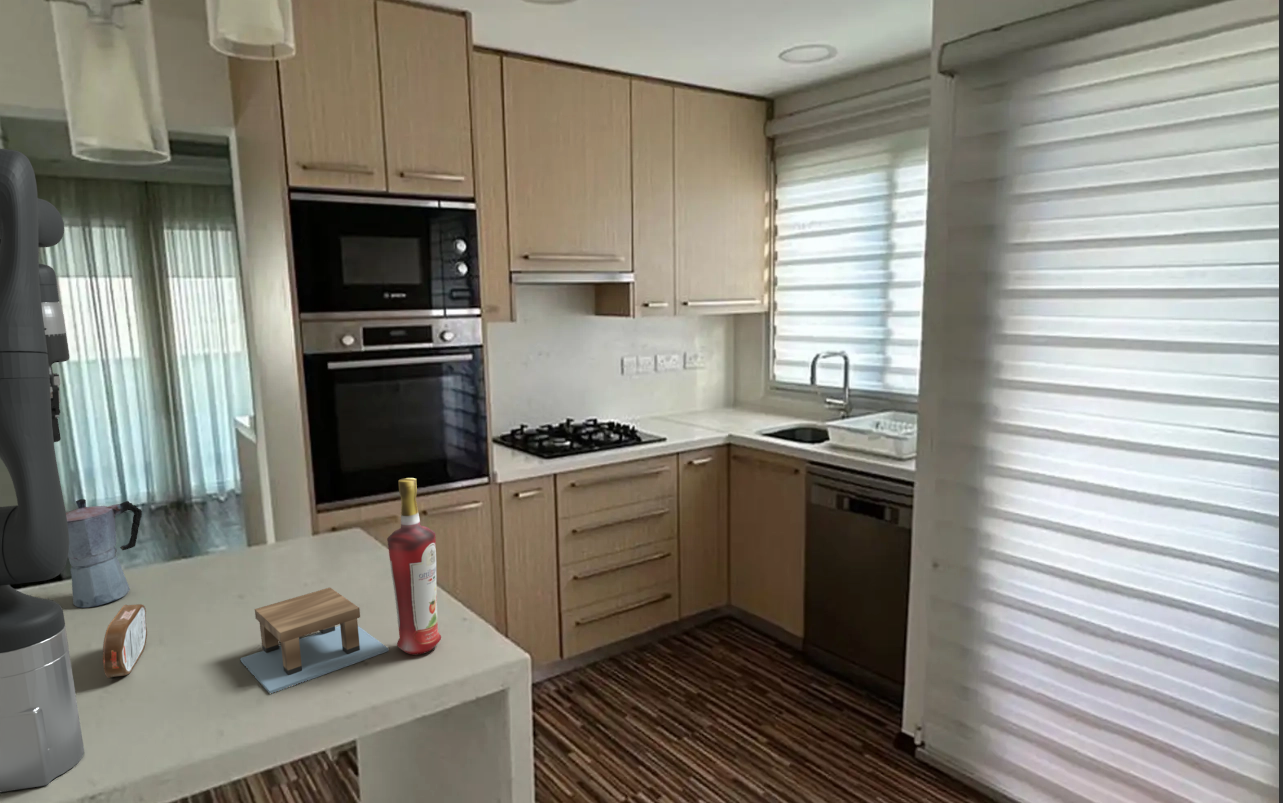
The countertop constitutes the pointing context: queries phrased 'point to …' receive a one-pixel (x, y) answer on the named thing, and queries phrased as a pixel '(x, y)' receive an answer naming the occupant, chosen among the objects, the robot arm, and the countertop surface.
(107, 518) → the moka pot
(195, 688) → the countertop surface
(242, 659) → the mat
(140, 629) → the tin
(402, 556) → the liquor
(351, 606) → the wooden board with legs
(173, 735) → the countertop surface
